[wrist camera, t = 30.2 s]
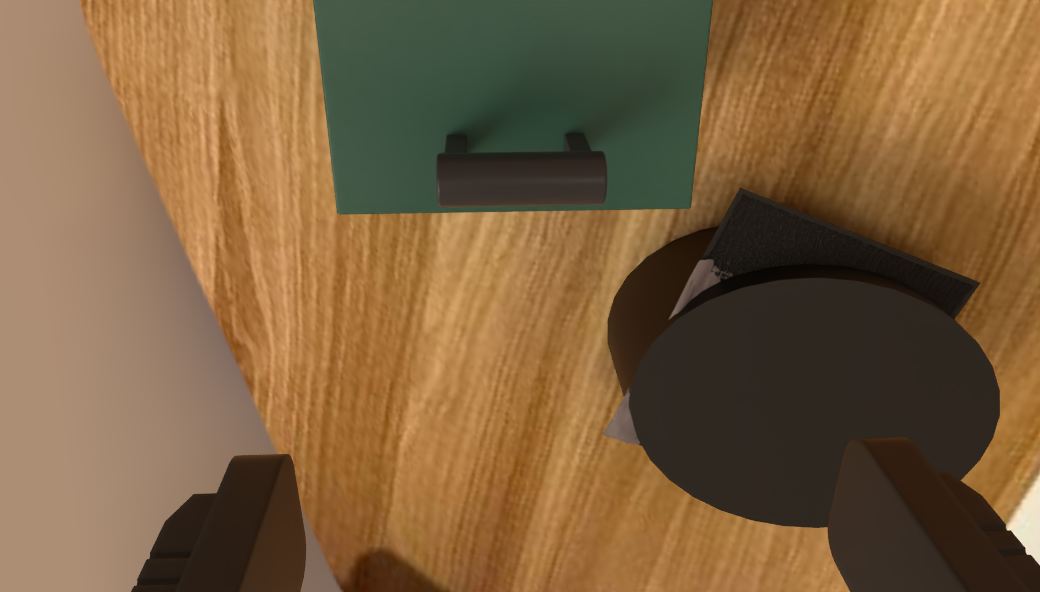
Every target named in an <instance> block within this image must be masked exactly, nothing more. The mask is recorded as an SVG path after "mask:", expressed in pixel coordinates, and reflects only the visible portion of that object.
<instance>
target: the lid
mask: <svg viewBox="0 0 1040 592" xmlns="http://www.w3.org/2000/svg"><path fill="white" fill-rule="evenodd" d="M313 3H314V12H315V21H316V30H317V38H318V47H319V56H320V65H321V74H322V83H323V92H324V101H325V109H326V118H327V127H328V136H329V145H330V154H331V163H332V172H333V181H334V189H335V198H336V207H337V213H338V214H392V213H452V212H512V211H572V210H631V209H689V208H690V207H691V199H692V190H693V181H694V172H695V162H696V153H697V144H698V135H699V125H700V116H701V107H702V98H703V89H704V79H705V70H706V61H707V52H708V42H709V33H710V24H711V15H712V5H713V0H313Z"/></svg>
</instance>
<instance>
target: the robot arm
mask: <svg viewBox="0 0 1040 592" xmlns="http://www.w3.org/2000/svg"><path fill="white" fill-rule="evenodd" d="M828 539H829V545H830V550H831V553H832V556H833V559H834V561H835V563H836V565H837V567H838V569H839V571H840V573H841V575H842V577H843V579H844V581H845V582H846V584H847V586H848V588H849V590H850V592H1040V565H1039V564H1038V563H1037V562H1036V561H1035V559H1034V558H1033V557H1032V556H1031V555H1027V554H1026V551H1025V549H1026V548H1025V547H1024V546H1023V545H1022V544H1021V542H1020V541H1019V540H1018V539H1017V538H1016V536H1015V535H1014V534H1013V533H1012V532H1011V530H1010V531H1007V530H1006V524H1005V523H1004V522H1003V521H1002V519H1001V518H1000V517H999V516H998V515H997V513H996V512H995V511H994V510H993V509H992V507H991V506H990V505H989V504H988V502H987V501H986V500H985V499H984V498H983V496H981V495H980V494H979V493H977V492H976V491H974V490H973V489H972V488H970V487H969V486H967V485H966V484H964V483H963V482H962V481H960V480H959V479H957V478H956V477H954V476H953V475H952V474H950V473H949V472H936V471H935V470H934V468H933V467H932V466H931V465H930V463H929V462H928V461H927V459H926V458H925V457H924V456H923V454H922V453H921V452H920V450H919V449H918V448H917V447H916V445H915V444H914V443H913V442H912V441H911V440H909V439H908V438H905V437H890V438H857V439H852V440H850V441H849V442H848V444H847V445H846V448H845V451H844V454H843V459H842V463H841V467H840V471H839V475H838V480H837V484H836V488H835V492H834V497H833V501H832V505H831V509H830V513H829V518H828ZM305 560H306V540H305V531H304V525H303V519H302V513H301V506H300V500H299V494H298V488H297V482H296V476H295V470H294V465H293V461H292V458H291V456H290V455H289V454H274V455H241V456H235V457H233V459H232V460H231V462H230V463H229V466H228V468H227V470H226V473H225V475H224V478H223V480H222V482H221V484H220V487H219V489H218V492H217V493H214V494H194V495H192V496H191V497H190V498H189V499H188V500H187V501H186V502H185V503H184V504H183V505H182V506H181V507H180V508H179V509H178V510H177V511H176V512H175V513H174V514H173V515H172V516H171V517H169V518H168V519H167V520H166V521H165V523H164V525H163V527H162V529H161V531H160V533H159V536H158V537H157V540H156V542H155V544H154V546H153V548H152V550H151V552H150V559H147V560H146V562H145V564H144V566H143V569H142V571H141V572H140V575H139V577H138V580H137V581H138V582H137V586H134V587H133V589H132V591H131V592H300V590H301V586H302V582H303V578H304V571H305Z"/></svg>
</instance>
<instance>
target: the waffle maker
mask: <svg viewBox="0 0 1040 592" xmlns="http://www.w3.org/2000/svg"><path fill="white" fill-rule="evenodd" d="M979 284H980V282H977V281H975V280H972V279H970V278H967V277H965V276H962V275H960V274H957V273H955V272H952V271H950V270H947V269H944V268H942V267H939V266H937V265H934V264H932V263H929V262H927V261H924V260H922V259H919V258H917V257H914V256H912V255H909V254H906V253H904V252H901V251H899V250H896V249H894V248H891V247H889V246H886V245H884V244H881V243H879V242H876V241H874V240H871V239H869V238H866V237H863V236H861V235H858V234H856V233H853V232H851V231H848V230H846V229H843V228H841V227H838V226H836V225H833V224H831V223H828V222H825V221H823V220H820V219H818V218H815V217H813V216H810V215H808V214H805V213H803V212H800V211H798V210H795V209H793V208H790V207H787V206H785V205H782V204H780V203H777V202H775V201H772V200H770V199H767V198H765V197H762V196H760V195H757V194H755V193H752V192H749V191H747V190H744V189H742V188H740V189H739V191H738V193H737V194H736V196H735V198H734V200H733V202H732V204H731V205H730V207H729V209H728V211H727V213H726V214H725V216H724V218H723V220H722V222H721V224H720V225H719V226H718V227H714V228H709V229H704V230H700V231H698V232H695V233H693V234H690V235H688V236H685V237H683V238H680V239H678V240H675V241H673V242H671V243H669V244H668V245H666V246H664V247H663V248H661V249H660V250H658V251H656V252H655V253H653V254H652V255H650V256H649V257H647V258H646V259H645V260H644V261H643V262H642V263H641V264H640V265H639V266H638V267H637V268H636V269H635V270H634V271H633V272H632V273H631V274H630V275H629V276H628V277H627V278H626V280H625V281H624V283H623V285H622V286H621V288H620V289H619V291H618V293H617V294H616V296H615V298H614V301H613V304H612V308H611V311H610V314H609V318H608V345H609V349H610V353H611V356H612V360H613V363H614V367H615V370H616V373H617V376H618V379H619V382H620V385H621V388H622V392H623V395H624V399H623V401H622V403H621V405H620V407H619V409H618V410H617V412H616V414H615V416H614V418H613V419H612V421H611V423H610V424H609V425H608V426H607V428H606V430H605V432H604V433H603V435H605V436H609V437H612V438H616V439H618V440H621V441H623V442H626V443H632V444H638V445H641V446H643V448H644V450H645V451H646V453H647V455H648V457H649V458H650V460H651V461H652V462H653V463H654V464H655V465H656V466H657V467H658V468H659V469H660V470H661V471H662V473H663V474H664V475H665V476H666V477H667V478H668V479H669V480H670V481H672V482H673V483H675V484H676V485H677V486H679V487H680V488H682V489H683V490H684V491H686V492H687V493H689V494H690V495H691V496H693V497H695V498H697V499H699V500H701V501H703V502H705V503H707V504H709V505H711V506H713V507H715V508H717V509H719V510H722V511H725V512H728V513H731V514H734V515H737V516H740V517H743V518H746V519H750V520H754V521H759V522H765V523H770V524H776V525H781V526H795V527H813V528H820V527H828V518H829V513H830V509H831V505H832V501H833V497H834V492H835V488H836V484H837V480H838V475H839V471H840V467H841V463H842V459H843V454H844V451H845V448H846V445H847V444H848V442H849V441H850V440H852V439H857V438H890V437H905V438H908V439H909V440H911V441H912V442H913V443H914V444H915V445H916V447H917V448H918V449H919V450H920V452H921V453H922V454H923V456H924V457H925V458H926V459H927V461H928V462H929V463H930V465H931V466H932V467H933V468H934V470H935V471H936V472H949V473H950V474H952V475H953V476H954V477H956V478H957V479H959V480H961V479H962V478H963V477H964V476H965V475H966V474H967V473H968V472H969V471H970V470H971V469H972V468H973V467H974V466H975V465H976V464H977V463H978V461H979V460H980V459H981V457H982V456H983V454H984V452H985V451H986V449H987V447H988V446H989V444H990V442H991V441H992V439H993V436H994V433H995V429H996V426H997V422H998V419H999V415H1000V390H999V387H998V383H997V380H996V376H995V373H994V370H993V366H992V365H991V363H990V361H989V360H988V358H987V357H986V355H985V353H984V352H983V350H982V349H981V347H980V345H979V344H978V342H977V341H976V340H975V339H974V338H972V337H971V336H970V335H969V334H968V333H967V332H966V331H965V330H964V329H963V328H962V327H961V326H960V325H959V324H958V323H957V322H956V321H955V320H954V319H955V318H956V317H957V315H958V314H959V312H960V311H961V310H962V308H963V307H964V305H965V304H966V303H967V301H968V300H969V298H970V297H971V296H972V294H973V293H974V291H975V290H976V289H977V287H978V286H979Z"/></svg>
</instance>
